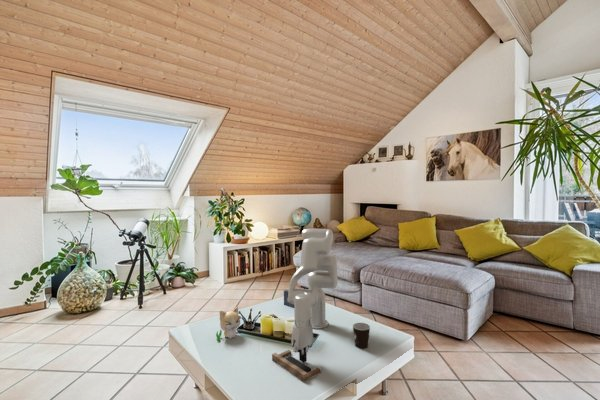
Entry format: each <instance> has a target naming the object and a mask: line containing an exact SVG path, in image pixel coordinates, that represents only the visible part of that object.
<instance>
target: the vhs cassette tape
mask: <svg viewBox="0 0 600 400" xmlns="http://www.w3.org/2000/svg"><path fill="white" fill-rule="evenodd" d="M288 292H289V289H285V290H283V305H284V306H286V307H290V308H292V309H294V304H291V303H290V302H289V300H288Z"/></svg>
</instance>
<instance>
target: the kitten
mask: <svg viewBox="0 0 600 400" xmlns="http://www.w3.org/2000/svg"><path fill="white" fill-rule="evenodd" d="M219 325H220V326H219V327H220V330H219V331H218V330H217V331H216V334H215V337H216V340H217V341H221V337H222V331H223V335H224V337H226V338H229V339H231V340H232V339H234V338H235V337H236V335H237V329H238V328H239V327H240V325H241V318H240V315H239V307H238V306H235V308H234V309H233V310H229V311H223V310H219ZM218 332H219V333H218Z"/></svg>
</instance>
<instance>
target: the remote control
mask: <svg viewBox="0 0 600 400" xmlns="http://www.w3.org/2000/svg"><path fill="white" fill-rule="evenodd" d="M285 359H286V360H288V361H289V362H291V363H292V364H294V365H296V366H297V367H299V368H300V369H302V370H303V371H305V372H306V373H308V372H309V371H311V370H312V368H311V367H310V366H308V365H307V364H305V362H304V363H303V362H301V361H300V360H299V359H297V358H296V357H294V356H291V355H289V356H287V357H285Z"/></svg>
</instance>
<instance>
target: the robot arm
mask: <svg viewBox="0 0 600 400" xmlns="http://www.w3.org/2000/svg"><path fill="white" fill-rule="evenodd" d="M301 238H302V240H303V241H302V245H301V254H300V255H301V256H300V264H299V268H298V269H297V270H296V271H295V272H294V273H293V275H292V277H291V279H290V280H289V286H288V291H289V292H288V300H289V302H290V303H291V304H294V308H293V310H294V313H293V314H294V324H293V326H292V330H291V332H292V333H291V340H290V341H291V342H290V343H291V345H290V346H291V347H292V348H293V352H294V353H296V354H297V353H299V354H298V356H299V359H298V360H299V361H300V362H302V363H304V364H305V363H307V359H308V357H307V356H308V355H307V354H308V352H309V351H308V350H309V348H310V347H311V346H312V345H313V342H314V331H313V329H317V330H318V329H324V328H326V327H328V325H329V321H328V320H327V319H326V293H325V290H323V289H329V290H330V289H332V290H333V289H335V288H337V286H338V261H337V260H338V259H337V257H336V255H334V254H332V253H331V254H330V252H331V249H332V245H333V241H334V232H333V230H331V229H330V228H315V227H314V228H304V229H303V230H302V231H301ZM306 275H307V285H308V289H307V288H306V289H305V288H296V287H297V286H296V285H297V282H298V281H299V280H300V279H301V278H302V277H304V276H306Z"/></svg>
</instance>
